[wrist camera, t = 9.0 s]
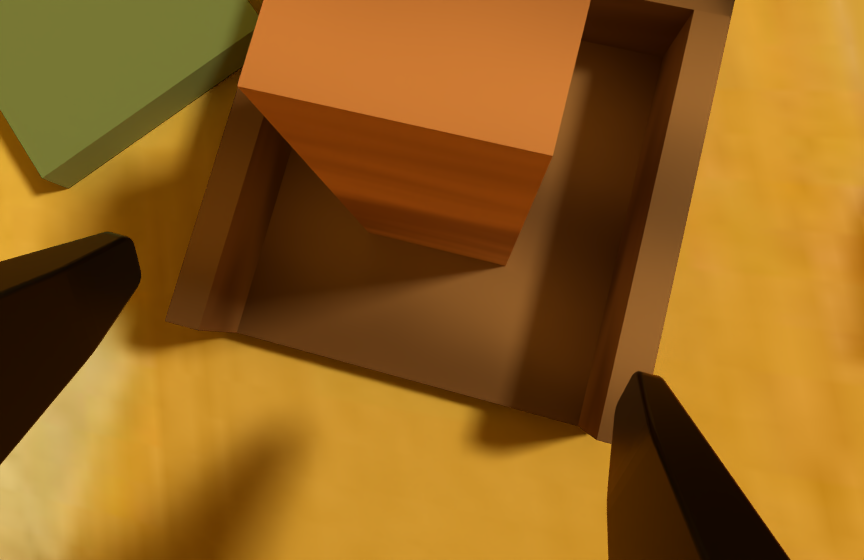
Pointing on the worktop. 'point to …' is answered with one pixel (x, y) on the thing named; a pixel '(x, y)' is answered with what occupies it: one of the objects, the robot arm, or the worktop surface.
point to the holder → (472, 278)
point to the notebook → (109, 71)
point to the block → (421, 108)
